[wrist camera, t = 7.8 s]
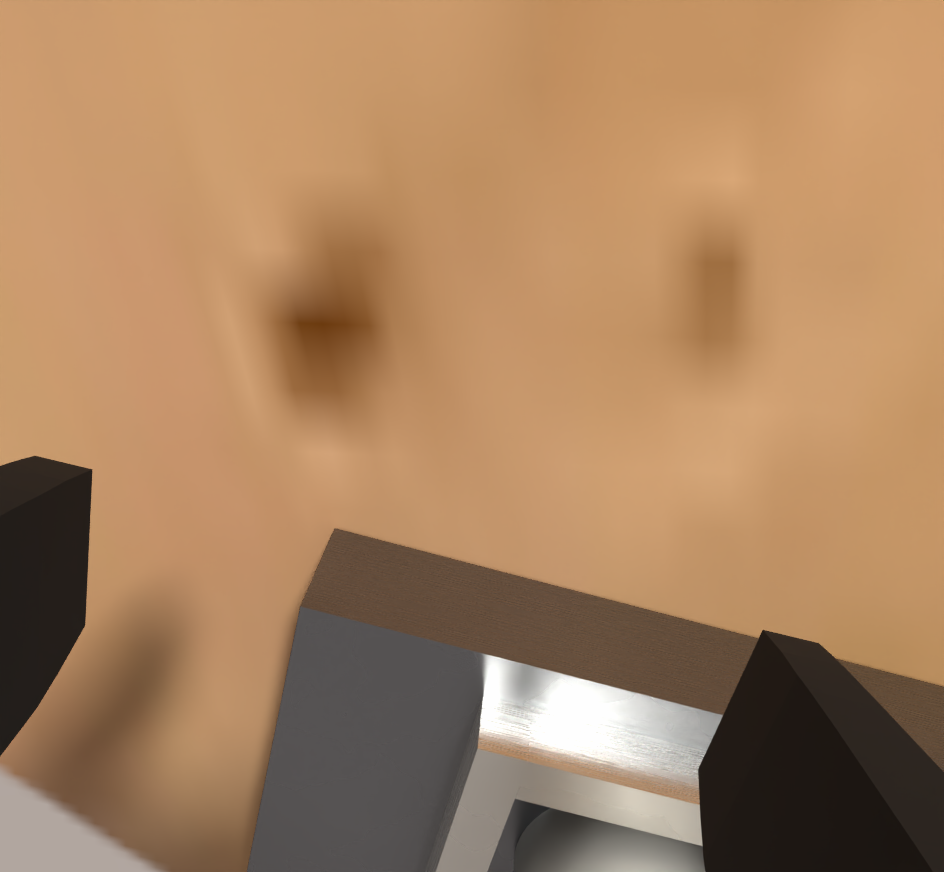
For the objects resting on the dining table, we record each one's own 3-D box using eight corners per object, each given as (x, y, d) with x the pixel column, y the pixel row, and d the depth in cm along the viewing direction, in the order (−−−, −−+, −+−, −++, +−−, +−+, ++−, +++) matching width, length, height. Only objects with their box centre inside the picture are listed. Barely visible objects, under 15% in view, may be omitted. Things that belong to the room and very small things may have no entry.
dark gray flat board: (1001, 701, 21) (1110, 867, 17) (824, 966, 25) (876, 1149, 21) (334, 528, 20) (278, 655, 16) (271, 827, 25) (214, 986, 20)
